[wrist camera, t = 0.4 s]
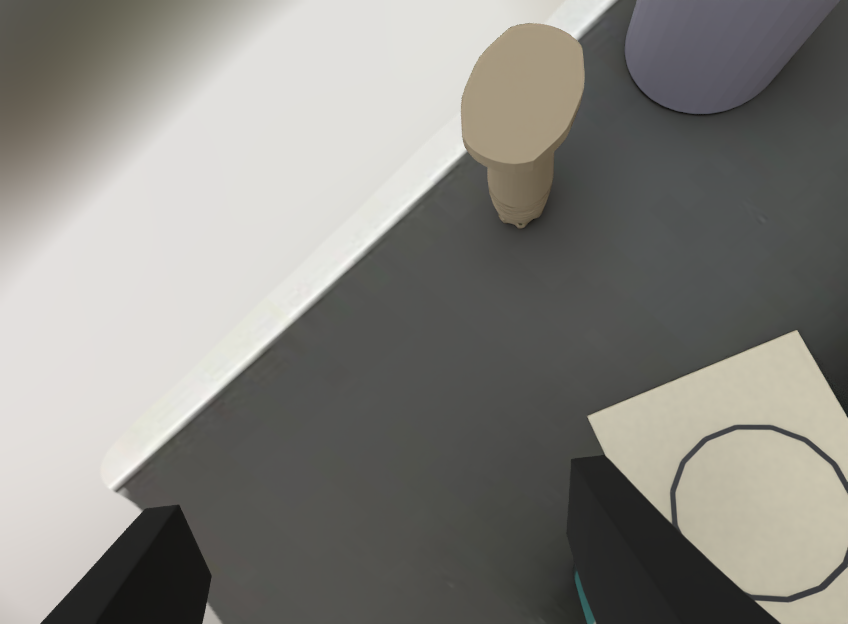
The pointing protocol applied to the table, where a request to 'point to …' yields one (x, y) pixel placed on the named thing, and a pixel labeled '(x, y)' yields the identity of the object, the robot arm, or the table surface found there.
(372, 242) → the table surface
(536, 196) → the handle
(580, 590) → the marker
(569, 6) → the table surface
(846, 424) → the drawing pad
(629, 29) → the container
